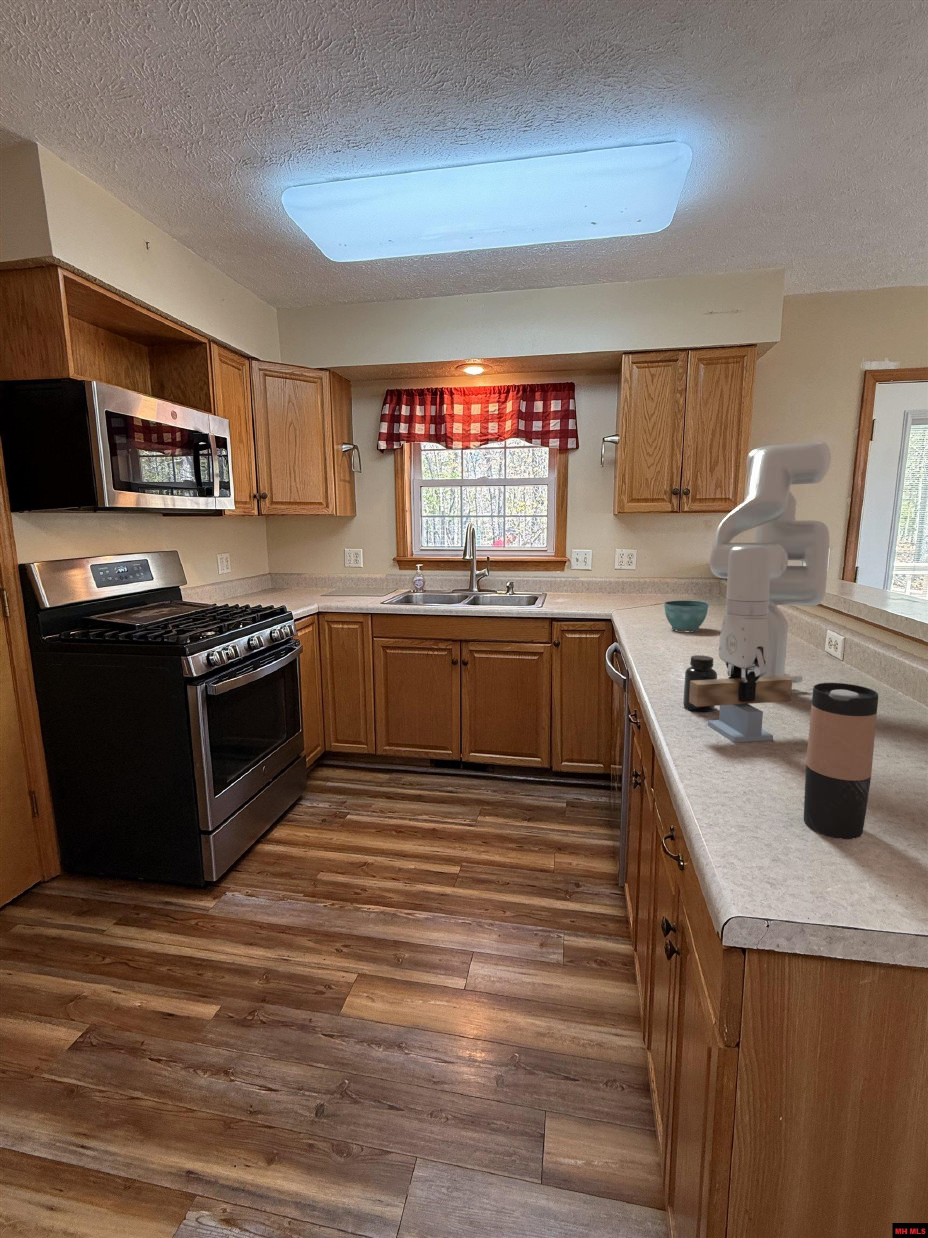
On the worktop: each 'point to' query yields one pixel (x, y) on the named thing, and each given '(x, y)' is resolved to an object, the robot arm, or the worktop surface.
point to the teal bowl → (686, 614)
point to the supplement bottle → (698, 671)
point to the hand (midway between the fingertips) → (741, 697)
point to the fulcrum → (740, 723)
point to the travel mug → (839, 758)
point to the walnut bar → (728, 691)
